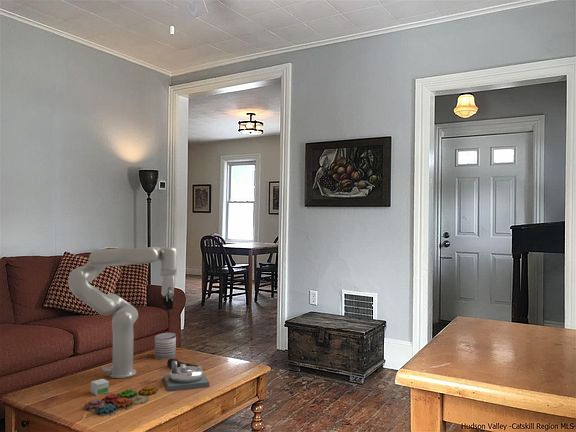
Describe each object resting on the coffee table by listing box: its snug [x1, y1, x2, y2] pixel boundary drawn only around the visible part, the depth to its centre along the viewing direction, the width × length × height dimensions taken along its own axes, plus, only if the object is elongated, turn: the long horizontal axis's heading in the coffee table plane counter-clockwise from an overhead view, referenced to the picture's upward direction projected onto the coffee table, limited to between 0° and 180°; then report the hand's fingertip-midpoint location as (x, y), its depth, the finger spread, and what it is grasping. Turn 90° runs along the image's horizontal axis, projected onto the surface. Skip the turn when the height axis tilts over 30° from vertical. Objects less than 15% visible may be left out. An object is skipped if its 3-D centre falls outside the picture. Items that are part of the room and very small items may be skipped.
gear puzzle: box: [82, 385, 159, 418], centre depth 192 cm, size 31×16×4 cm, turn 144°
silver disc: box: [168, 361, 204, 383], centre depth 216 cm, size 15×15×8 cm
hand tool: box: [166, 358, 199, 369], centre depth 235 cm, size 19×4×5 cm, turn 58°
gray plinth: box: [163, 372, 210, 392], centre depth 216 cm, size 18×18×5 cm
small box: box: [90, 378, 110, 396], centre depth 201 cm, size 6×6×5 cm
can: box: [154, 332, 177, 360], centre depth 257 cm, size 11×11×12 cm
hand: (167, 307), depth 228 cm, fingers open, 9 cm apart
